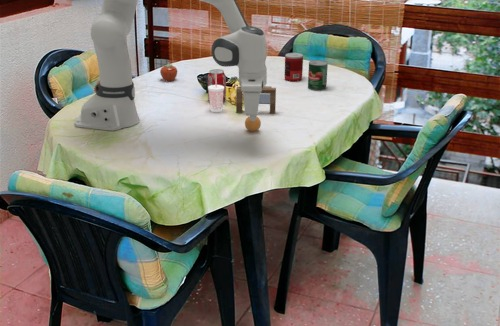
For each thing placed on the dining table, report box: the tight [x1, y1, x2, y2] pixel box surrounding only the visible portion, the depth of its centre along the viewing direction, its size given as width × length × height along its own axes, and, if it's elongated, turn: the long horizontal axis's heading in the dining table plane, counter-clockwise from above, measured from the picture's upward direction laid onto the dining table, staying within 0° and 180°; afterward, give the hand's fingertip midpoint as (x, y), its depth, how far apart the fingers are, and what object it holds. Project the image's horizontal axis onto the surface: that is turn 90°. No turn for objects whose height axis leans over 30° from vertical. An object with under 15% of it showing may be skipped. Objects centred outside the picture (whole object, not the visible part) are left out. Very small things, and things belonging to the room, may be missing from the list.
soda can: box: [207, 68, 227, 102], centre depth 242 cm, size 7×7×12 cm
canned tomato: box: [307, 59, 329, 92], centre depth 259 cm, size 8×8×11 cm
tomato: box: [159, 62, 178, 82], centre depth 269 cm, size 7×7×8 cm
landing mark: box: [259, 93, 270, 105], centre depth 247 cm, size 12×12×1 cm
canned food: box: [284, 52, 304, 83], centre depth 271 cm, size 8×8×11 cm
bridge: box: [235, 86, 277, 115], centre depth 231 cm, size 3×14×9 cm, turn 86°
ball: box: [244, 115, 262, 132], centre depth 213 cm, size 6×6×6 cm
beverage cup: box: [207, 74, 224, 113], centre depth 231 cm, size 6×6×14 cm
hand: (253, 119), depth 203 cm, fingers closed
